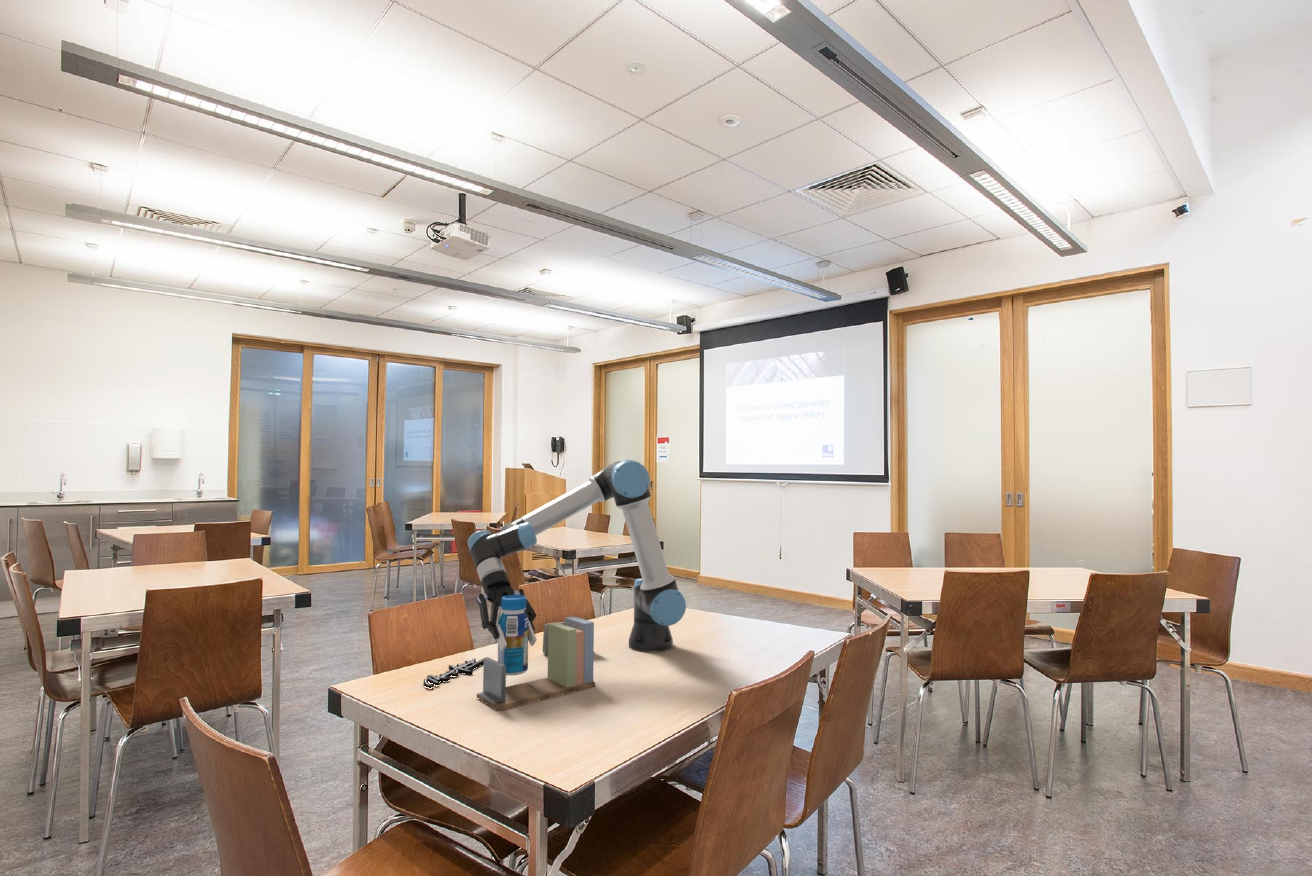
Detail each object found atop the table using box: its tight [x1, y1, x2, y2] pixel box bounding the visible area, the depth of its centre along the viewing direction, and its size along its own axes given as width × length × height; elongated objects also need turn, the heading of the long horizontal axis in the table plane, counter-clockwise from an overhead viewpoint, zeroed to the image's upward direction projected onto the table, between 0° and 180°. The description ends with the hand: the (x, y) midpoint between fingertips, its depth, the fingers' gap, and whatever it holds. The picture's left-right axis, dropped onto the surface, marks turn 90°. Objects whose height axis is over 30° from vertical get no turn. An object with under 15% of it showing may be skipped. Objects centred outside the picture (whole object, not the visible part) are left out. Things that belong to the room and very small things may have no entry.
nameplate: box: [423, 658, 484, 688], centre depth 186 cm, size 27×2×10 cm
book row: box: [547, 616, 595, 688], centre depth 178 cm, size 8×10×16 cm
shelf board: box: [476, 677, 596, 711], centre depth 171 cm, size 29×12×1 cm, turn 130°
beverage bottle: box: [497, 595, 529, 676], centre depth 175 cm, size 8×8×20 cm
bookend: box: [478, 656, 507, 704], centre depth 163 cm, size 2×10×9 cm, turn 40°
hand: (519, 645), depth 172 cm, fingers closed on beverage bottle, 8 cm apart
